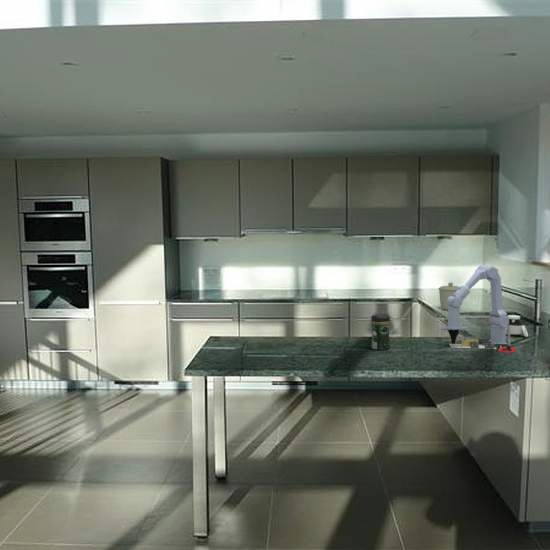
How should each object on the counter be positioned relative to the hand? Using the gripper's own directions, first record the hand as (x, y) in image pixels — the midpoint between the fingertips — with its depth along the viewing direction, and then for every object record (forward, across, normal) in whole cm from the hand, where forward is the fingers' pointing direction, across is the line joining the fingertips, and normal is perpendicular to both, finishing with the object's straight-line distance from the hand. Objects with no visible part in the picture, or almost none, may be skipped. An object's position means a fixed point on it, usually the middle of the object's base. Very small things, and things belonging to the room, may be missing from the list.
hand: (453, 343), depth 302 cm
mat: (+2, +10, 0) cm, 10 cm away
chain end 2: (+1, +18, 0) cm, 18 cm away
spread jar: (+2, +40, +34) cm, 53 cm away
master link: (+1, +8, 0) cm, 9 cm away
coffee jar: (+2, -38, -10) cm, 40 cm away
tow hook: (+2, +26, -8) cm, 27 cm away
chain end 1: (+1, +10, 0) cm, 11 cm away
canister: (+2, +16, +135) cm, 136 cm away
